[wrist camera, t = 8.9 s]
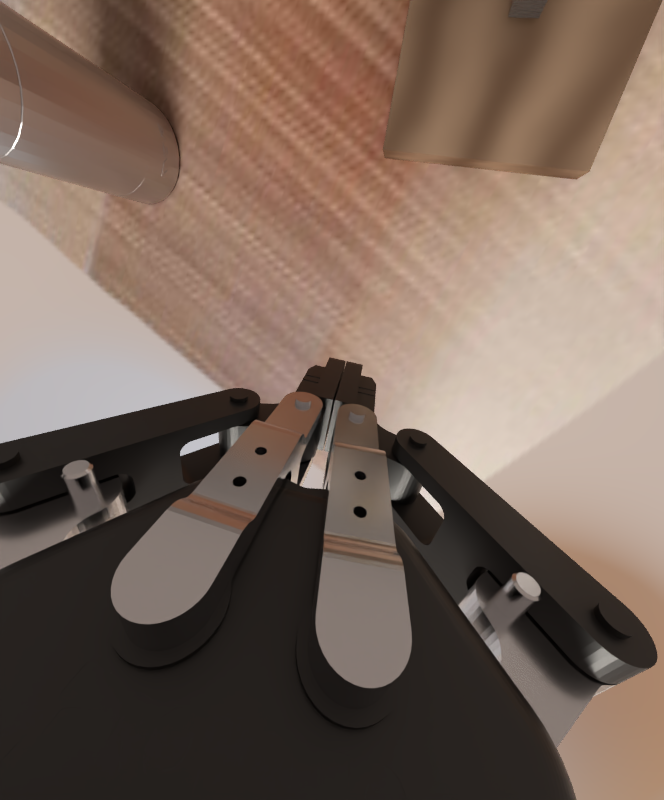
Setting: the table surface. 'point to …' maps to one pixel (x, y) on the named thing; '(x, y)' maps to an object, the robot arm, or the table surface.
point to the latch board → (513, 83)
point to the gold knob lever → (527, 8)
